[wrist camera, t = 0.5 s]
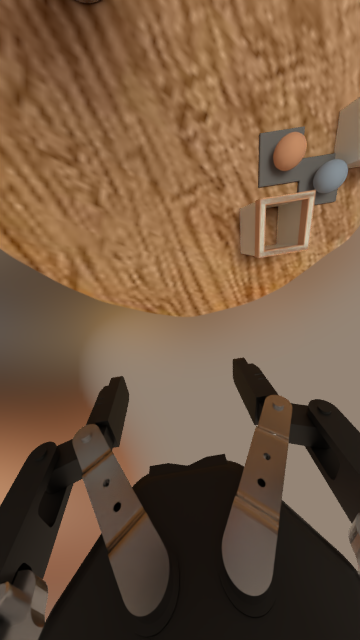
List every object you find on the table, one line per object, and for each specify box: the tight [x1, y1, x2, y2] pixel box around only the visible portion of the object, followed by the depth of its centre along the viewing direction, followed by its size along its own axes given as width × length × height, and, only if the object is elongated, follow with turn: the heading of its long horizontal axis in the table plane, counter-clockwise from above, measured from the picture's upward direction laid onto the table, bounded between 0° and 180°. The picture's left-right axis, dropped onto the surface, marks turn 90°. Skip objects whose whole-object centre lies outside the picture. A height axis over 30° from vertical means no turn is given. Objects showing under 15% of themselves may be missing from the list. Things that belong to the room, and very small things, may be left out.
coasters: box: [258, 127, 338, 205], centre depth 32 cm, size 11×14×1 cm
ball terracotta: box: [273, 132, 307, 171], centre depth 28 cm, size 4×4×4 cm
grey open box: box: [240, 190, 316, 258], centre depth 31 cm, size 8×8×8 cm
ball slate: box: [313, 159, 348, 193], centre depth 30 cm, size 4×4×4 cm
